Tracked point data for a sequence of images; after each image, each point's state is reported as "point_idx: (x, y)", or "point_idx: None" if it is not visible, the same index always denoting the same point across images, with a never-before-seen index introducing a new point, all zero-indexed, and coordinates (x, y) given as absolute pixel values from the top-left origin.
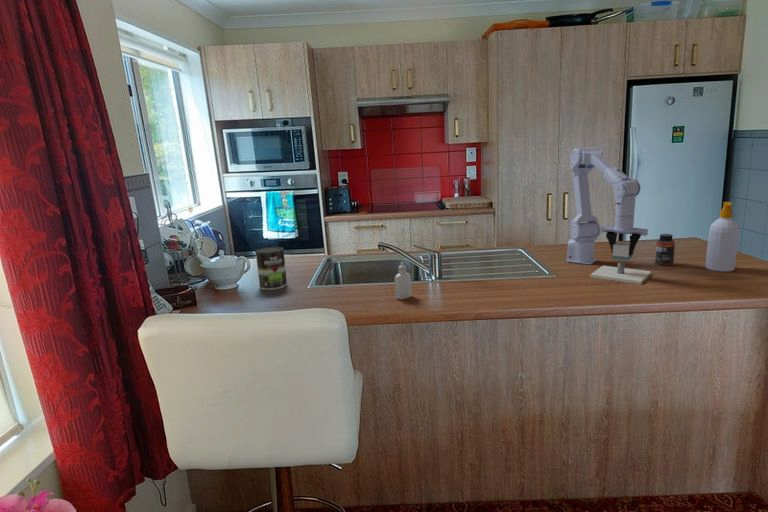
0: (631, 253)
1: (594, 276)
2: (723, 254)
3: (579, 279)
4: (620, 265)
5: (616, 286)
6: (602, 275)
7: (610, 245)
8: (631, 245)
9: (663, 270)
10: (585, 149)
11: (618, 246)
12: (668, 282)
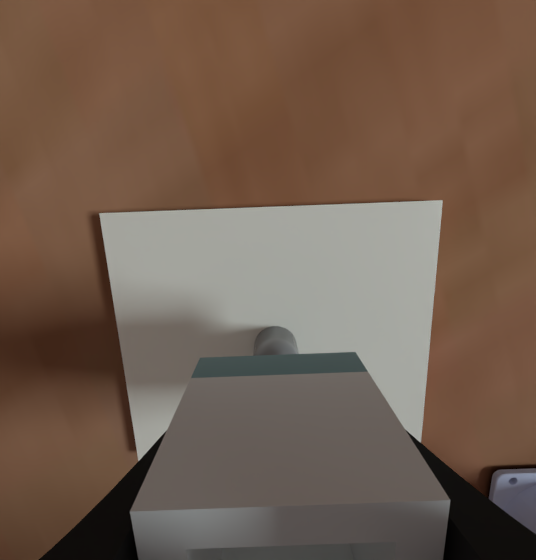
0: (156, 442)
1: (408, 202)
2: None
3: (487, 104)
4: (276, 353)
5: (216, 71)
6: (361, 221)
7: (487, 501)
8: (85, 554)
9: None
10: None
11: (332, 479)
12: (5, 341)
